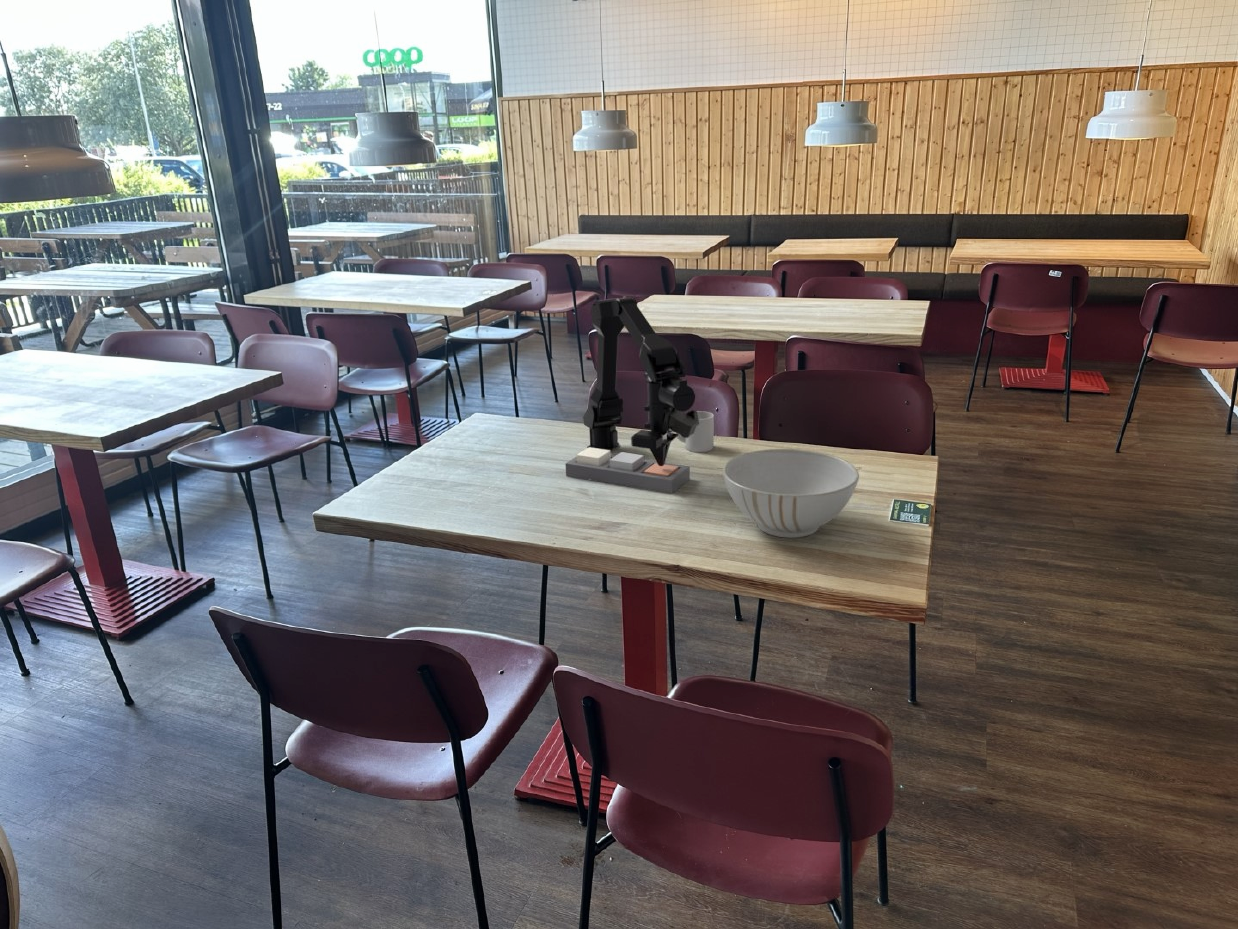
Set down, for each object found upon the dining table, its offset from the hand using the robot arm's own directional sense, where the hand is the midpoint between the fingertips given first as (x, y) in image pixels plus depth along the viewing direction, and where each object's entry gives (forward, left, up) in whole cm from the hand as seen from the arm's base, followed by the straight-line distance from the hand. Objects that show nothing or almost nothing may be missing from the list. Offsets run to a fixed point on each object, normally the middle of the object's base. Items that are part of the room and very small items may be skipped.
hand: (661, 465), depth 202 cm
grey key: (-9, 0, -2) cm, 9 cm away
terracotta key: (0, 0, -3) cm, 3 cm away
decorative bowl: (+34, -11, -5) cm, 36 cm away
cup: (-3, +26, -5) cm, 27 cm away
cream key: (-18, 0, -2) cm, 18 cm away
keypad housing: (-9, 0, -4) cm, 10 cm away
